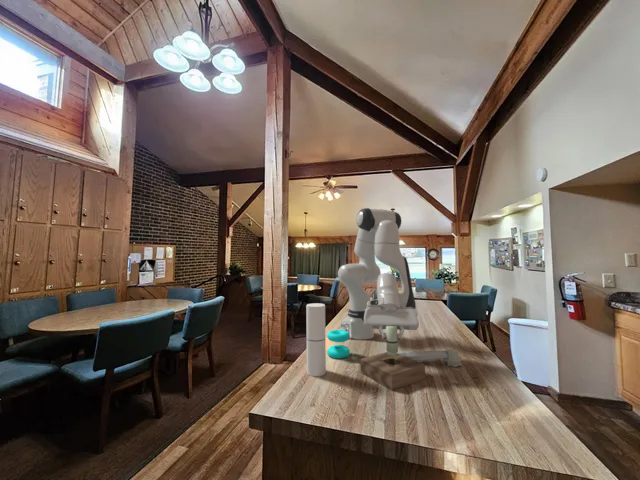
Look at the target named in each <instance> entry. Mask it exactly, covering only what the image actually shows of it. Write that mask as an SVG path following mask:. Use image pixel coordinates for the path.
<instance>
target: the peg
mask: <svg viewBox="0 0 640 480" xmlns="http://www.w3.org/2000/svg"><path fill="white" fill-rule="evenodd" d="M385 333H386V339H385V343H386V352H388V356H392V357H395V356H397V352H399V346H398V345H399V340H398V338H397V333H398V330H397V327H396V326H386V329H385Z"/></svg>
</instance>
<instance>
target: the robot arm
mask: <svg viewBox="0 0 640 480" xmlns="http://www.w3.org/2000/svg"><path fill="white" fill-rule="evenodd" d="M356 224H357V227H358V231H357V234H356V238H355V244H354V247H353V249H354V250H353V252H354V254H355V255H356V256H357V257H358V258H359V262H356V263H346V264H344V265H340V267H339V269H338V271H337V277H338V280H339V281H340V283H342V284H343V285H344V286H345V288H346V290H347V291H348V296H349V297H348V298H349V309H347V310H346V312H348V314H347V316H345V318H344V319H342V320H341V321H340V326H339V327H340V329H339V328H337V329H338V330H344V331H347V332H348V333H349V334H350V337H349V338H355V339H354V340H370V339H373V338H374V337H375V331H374V330H378V332H379V334H380V335H381V339H382V340H386V332H384V330H386V326H396V327H397V331H398V330H399V333H398V332H397V338H398V341H402V340H403V334H404V331H406V330H407V331H417V330H418V329H419V326H420V325H419V324H420V322H419V319H418V310H417V305H416V300H415V296H414V290H413V286H412V285H413V284H412V278H411V273H410V267H409V263H408V259H407V258H406V256H404V255H403V254H402V252H401V249H400V233H399V229H400V228H401V227H402V226H401V225H402V216H401V215H400V213H399V212H396V211H393V210H392V211H391V210H387V209H382V208H368V207H364V208H361V209H360V210H359V211H358V213H357V215H356ZM376 259H377V260H378V261H379V262H380V263H382V264H384V265H385V266H387V267H390V268H393V269H394V270H396V271H397V272H398V274H399V277H400V278H399V279H400V283H401V291H402V292H400V291H399V284H398V281H397V278H396V276H395V275H394V274H392V273H385V272H384V273H381V269H380V266H379V265H378V264H377V262H376ZM374 282H376V289H375V290H374V291H373V292H372V294H371V295H372V297H371V295H370V293H369V292H368V291H366V290H365V289H364V287H363V284H370V283H371V284H372V283H374ZM371 298H372V300H371Z"/></svg>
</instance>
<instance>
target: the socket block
mask: <svg viewBox="0 0 640 480" xmlns="http://www.w3.org/2000/svg"><path fill="white" fill-rule="evenodd" d="M425 367H426V365H425V364H424V363H422V362H421V361H415V360H412V359H410V358H408V357H405V356H403V355H400V354H398V353H397V356H395V357H392V356H388V351H386V352H383V353H379V354H375V355H374V354H373V355H371V356H366V357H362V358H360V374H363V375H365V376H366V377H368V378H369V379H371V380H373V381H375V382H376V383H378V384H379V385H381V386H383V387H385V388H387V389H388V390H389V391H395V390H398V389H401V388H403V387H406V386H410V385H412V384H415V383H417V382H421V381H424V380H426V369H425Z"/></svg>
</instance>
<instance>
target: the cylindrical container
mask: <svg viewBox="0 0 640 480" xmlns="http://www.w3.org/2000/svg"><path fill="white" fill-rule="evenodd" d="M305 308H306V311H305V312H306V313H305V314H306V316H305V317H306V319H305V321H306V329H305V330H306V374H307V375H308V376H310V377H321V376H324V375H326V371H327V369H326V368H327V367H326V366H327V365H326V363H327V362H326V359H327V356H326V353H327V351H326V350H327V349H326V305H325V303H321V302H320V303H318V302H317V303H316V302H314V303H307V304H306V306H305Z"/></svg>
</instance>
